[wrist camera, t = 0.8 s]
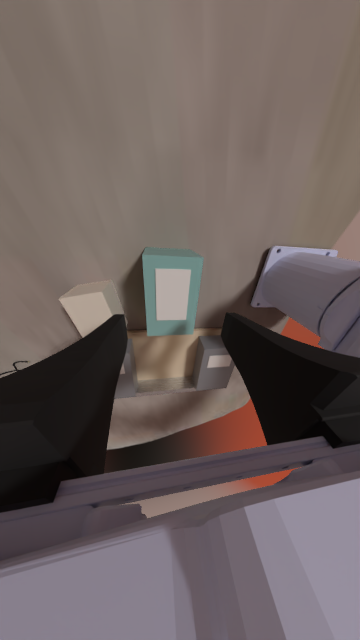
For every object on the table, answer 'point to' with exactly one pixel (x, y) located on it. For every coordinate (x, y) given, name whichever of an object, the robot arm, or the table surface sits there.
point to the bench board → (166, 353)
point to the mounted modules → (207, 373)
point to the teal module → (171, 290)
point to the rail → (165, 386)
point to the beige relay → (91, 305)
